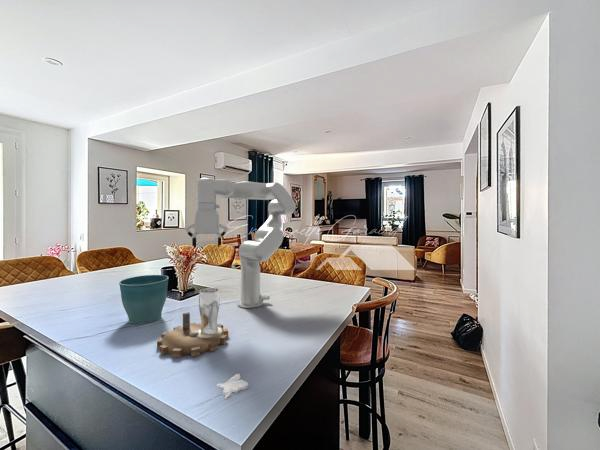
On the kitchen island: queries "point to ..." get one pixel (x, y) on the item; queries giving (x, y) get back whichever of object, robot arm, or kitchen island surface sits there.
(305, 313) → the kitchen island surface
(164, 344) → the sprocket wheel
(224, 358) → the kitchen island surface
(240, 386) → the acanthus leaf ornament
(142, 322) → the flower pot
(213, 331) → the beer glass
